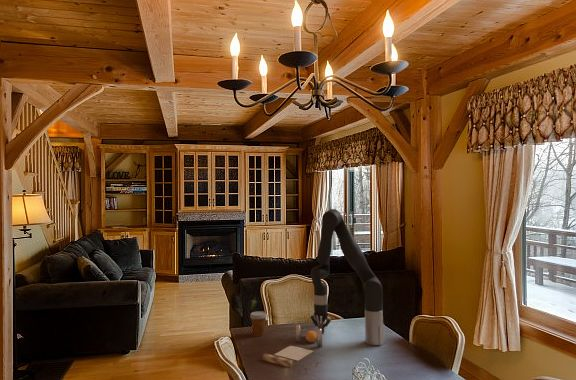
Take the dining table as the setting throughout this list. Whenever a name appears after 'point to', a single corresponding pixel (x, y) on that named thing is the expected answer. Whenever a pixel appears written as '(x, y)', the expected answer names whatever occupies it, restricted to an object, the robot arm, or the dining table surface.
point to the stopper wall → (278, 360)
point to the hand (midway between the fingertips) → (321, 334)
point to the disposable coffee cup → (258, 322)
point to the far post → (298, 333)
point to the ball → (311, 336)
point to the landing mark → (294, 353)
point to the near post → (319, 337)
